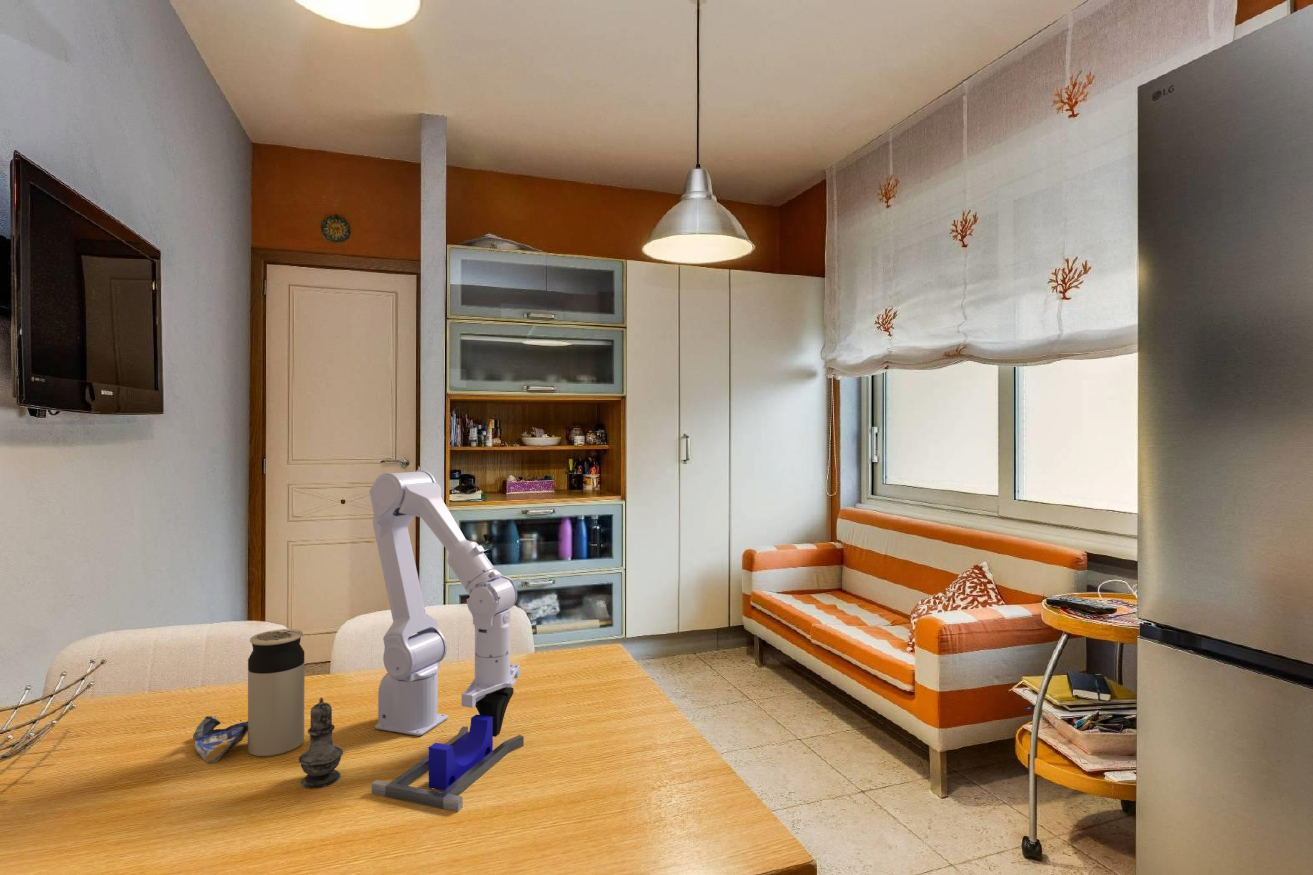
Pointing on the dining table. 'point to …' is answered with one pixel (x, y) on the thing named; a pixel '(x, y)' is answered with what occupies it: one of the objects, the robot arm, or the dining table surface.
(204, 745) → the snack package
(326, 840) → the dining table surface
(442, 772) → the blue cradle block
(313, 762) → the salt shaker
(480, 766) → the rail
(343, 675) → the dining table surface
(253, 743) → the travel mug
